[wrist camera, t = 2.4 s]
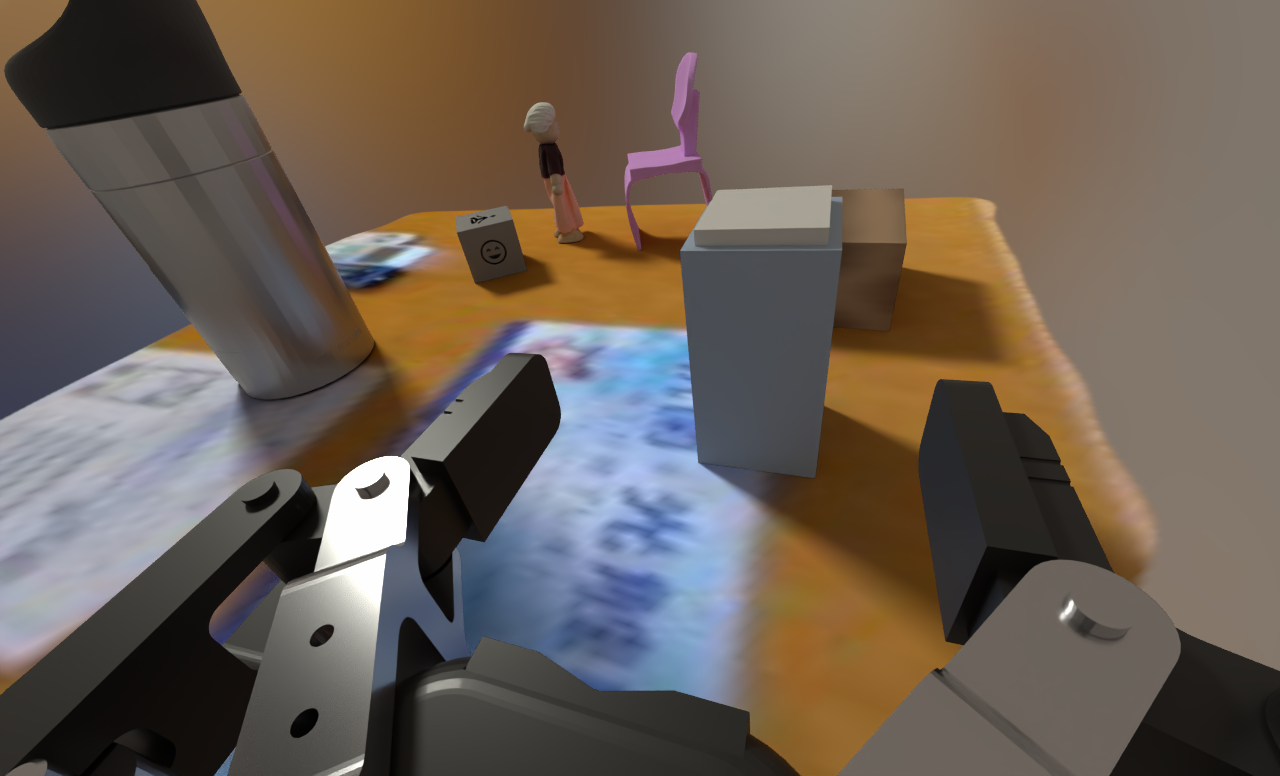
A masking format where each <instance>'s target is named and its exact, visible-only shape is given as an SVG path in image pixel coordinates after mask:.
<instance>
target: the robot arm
mask: <svg viewBox="0 0 1280 776" xmlns="http://www.w3.org/2000/svg"><path fill="white" fill-rule="evenodd" d="M4 72H5V77H6V79H7V82H8V84H9V85H10V87H11V89H12V90H13V91H14V93H15V94H16V96H17V97H18V99H19V100H20V101H21V103H22V104H23V105H24V106H25V108H26V109H27V110H28V111H29V113H30V114H31V115H32V117H33V118H34V119H35V121H36V122H37V123H38V124H39V126H40V127H42V128H48V129H46V130H44V132H45V133H46V135H47V136H48V137H49V139H50V140H51V141H52V142H53V144H54V145H55V146H56V148H57V149H58V150H59V151H60V153H61V154H62V155H63V156H64V158H65V159H66V160H67V162H68V163H69V165H70V166H71V167H72V168H73V170H74V171H75V172H76V174H77V175H78V176H79V177H80V179H81V180H82V181H83V183H84V184H85V185H86V187H88V189H89V190H91V192H92V194H93V195H94V196H95V198H96V199H97V200H98V201H99V203H100V204H101V205H102V207H103V208H104V209H105V211H106V212H107V213H108V214H109V216H110V217H111V218H112V220H113V221H114V222H115V223H116V225H117V226H118V227H119V229H120V230H121V231H122V233H123V234H124V235H125V237H126V238H127V239H128V240H129V242H130V243H131V244H132V245H133V247H134V248H135V249H136V251H137V252H138V253H139V255H140V256H141V257H142V258H143V260H144V261H145V262H146V264H147V265H148V266H149V269H150V270H151V272H152V273H153V274H154V275H155V277H156V278H157V279H158V281H159V282H160V283H161V284H162V286H163V287H164V288H165V289H166V291H167V292H168V294H169V295H170V296H171V297H172V299H173V300H174V301H175V303H176V304H177V305H178V306H179V308H180V309H181V310H182V312H183V313H184V314H185V315H186V317H187V318H188V319H189V321H190V322H191V323H192V325H193V326H194V327H195V328H196V330H197V331H198V332H199V334H200V335H201V336H202V337H203V339H204V340H205V341H206V343H207V344H208V345H209V347H210V348H211V349H212V350H213V352H214V353H215V354H216V356H217V357H218V358H219V359H220V361H221V362H222V363H223V365H224V366H225V367H226V368H227V370H228V371H229V372H230V374H231V375H232V376H233V378H234V379H235V380H236V381H238V383H239V384H240V385H241V387H242V388H243V389H244V390H245V392H246V393H247V394H248V395H249V396H251V397H253V398H258V399H279V398H285V397H291V396H294V395H298V394H302V393H305V392H308V391H311V390H314V389H316V388H319V387H321V386H324V385H326V384H328V383H330V382H332V381H334V380H336V379H338V378H340V377H341V376H343V375H345V374H347V373H348V372H350V371H351V370H352V369H354V368H355V367H357V366H358V365H359V364H360V363H361V362H362V361H364V360H365V359H366V357H367V356H368V355H369V354H370V352H371V351H372V349H373V346H374V339H373V337H372V336H371V334H370V332H369V330H368V328H367V326H366V324H365V322H364V320H363V319H362V317H361V315H360V313H359V311H358V309H357V307H356V305H355V303H354V301H353V300H352V298H351V296H350V293H349V291H348V290H347V288H346V286H345V284H344V282H343V280H342V278H341V276H340V275H339V273H338V271H337V269H336V267H335V265H334V263H333V261H332V260H331V258H330V256H329V254H328V252H327V250H326V248H325V246H324V245H323V243H322V241H321V239H320V237H319V235H318V233H317V231H316V230H315V228H314V226H313V224H312V222H311V220H310V218H309V216H308V214H307V213H306V211H305V209H304V207H303V205H302V203H301V201H300V199H299V198H298V196H297V194H296V192H295V190H294V188H293V186H292V184H291V182H290V181H289V179H288V177H287V175H286V173H285V171H284V169H283V167H282V166H281V164H280V162H279V160H278V158H277V156H276V154H275V152H274V151H273V149H271V148H272V147H271V145H270V143H269V142H268V140H267V138H266V136H265V134H264V132H263V130H262V128H261V127H260V125H259V123H258V121H257V119H256V117H255V115H254V114H253V112H252V110H251V108H250V106H249V104H248V102H247V100H246V98H245V97H244V96H243V95H239V94H240V93H241V89H240V87H239V86H238V84H237V82H236V80H235V78H234V76H233V75H232V73H231V71H230V69H229V67H228V65H227V63H226V61H225V58H224V56H223V54H222V52H221V50H220V48H219V46H218V43H217V41H216V39H215V37H214V35H213V33H212V31H211V29H210V26H209V24H208V22H207V20H206V19H205V16H204V14H203V13H202V11H201V9H200V7H199V5H198V3H197V1H196V0H69V3H68V5H67V7H66V8H65V10H64V12H63V14H62V16H61V17H60V18H59V19H58V20H57V22H56V23H55V24H54V25H53V26H52V27H51V28H50V29H49V30H48V31H47V32H46V33H44V34H43V35H42V36H41V37H39V38H38V39H36V40H35V41H34V42H32V43H31V44H29V45H28V46H26V47H25V48H24V49H22V50H20V51H19V52H18V53H16V54H15V55H14V56H12V57H11V58H10V59H9V60H8V62H7V63H6V65H5V70H4ZM560 419H561V410H560V405H559V401H558V398H557V395H556V391H555V388H554V385H553V381H552V378H551V375H550V371H549V368H548V364H547V362H546V360H545V358H544V357H543V356H542V355H540V354H523V353H509V354H507V355H506V356H505V357H504V358H503V359H502V360H501V361H500V362H499V363H498V364H497V365H496V366H495V367H494V368H493V369H492V371H491V372H489V373H487V374H486V375H484V376H482V377H481V378H479V379H478V380H476V381H474V382H473V383H471V384H470V385H469V386H468V387H467V388H466V389H465V390H464V391H463V392H462V393H461V394H460V395H459V396H458V397H457V398H456V402H452V403H451V404H450V405H449V406H448V407H447V409H446V410H445V411H444V414H441V415H440V416H439V417H438V418H437V419H436V420H435V421H434V422H433V423H432V424H431V425H430V426H429V427H428V428H427V429H426V430H425V431H424V432H423V434H422V435H421V436H420V437H419V438H418V439H417V440H416V441H415V442H414V443H413V444H412V445H411V446H410V447H409V448H408V449H407V450H406V451H405V452H404V453H403V454H402V455H401V456H400V457H382V458H378V459H375V460H372V461H369V462H367V463H365V464H363V465H361V466H359V467H357V468H356V469H354V470H353V471H351V472H350V473H349V474H348V475H346V476H345V477H344V478H343V479H342V480H341V481H340V483H339V484H336V485H328V486H320V487H312V488H311V487H310V486H309V485H308V483H307V482H306V481H305V479H304V478H303V477H302V475H301V474H300V473H299V472H298V471H296V470H293V469H281V470H276V471H272V472H269V473H266V474H264V475H261V476H259V477H257V478H255V479H253V480H252V481H250V482H248V483H247V484H245V485H244V486H242V487H241V488H240V489H238V490H237V491H236V492H235V493H233V494H232V495H231V496H230V497H229V498H228V499H227V500H225V501H224V502H223V503H222V504H221V505H220V506H218V507H217V508H216V509H215V510H214V511H213V512H212V513H210V514H209V515H208V516H207V517H206V518H205V519H203V520H202V521H201V522H200V523H199V524H198V525H196V526H195V527H194V528H193V529H192V530H191V531H190V532H188V533H187V534H186V535H185V536H184V537H183V538H181V539H180V540H179V541H178V542H177V543H176V544H175V545H173V546H172V547H171V548H170V549H169V550H168V551H166V552H165V553H164V554H163V555H162V556H161V557H160V558H158V559H157V560H156V561H155V562H154V563H153V564H151V565H150V566H149V567H148V568H147V569H146V570H144V571H143V572H142V573H141V574H140V575H139V576H138V577H136V578H135V579H134V580H133V581H132V582H131V583H129V584H128V585H127V586H126V587H125V588H124V589H123V590H121V591H120V592H119V593H118V594H117V595H116V596H114V597H113V598H112V599H111V600H110V601H109V602H107V603H106V604H105V605H104V606H103V607H102V608H101V609H99V610H98V611H97V612H96V613H95V614H94V615H92V616H91V617H90V618H89V619H88V620H87V621H86V622H84V623H83V624H82V625H81V626H80V627H79V628H77V629H76V630H75V631H74V632H73V633H72V634H71V635H69V636H68V637H67V638H66V639H65V640H64V641H62V642H61V643H60V644H59V645H58V646H57V647H55V648H54V649H53V650H52V651H51V652H50V653H49V654H47V655H46V656H45V657H44V658H43V659H42V660H40V661H39V662H38V663H37V664H36V665H35V666H34V667H32V668H31V669H30V670H29V671H28V672H27V673H25V674H24V675H23V676H22V677H21V678H20V679H18V680H17V681H16V682H15V683H14V684H13V685H12V686H10V687H9V688H8V689H7V690H6V691H5V692H3V693H2V694H1V695H0V776H214V775H215V773H216V772H217V771H218V769H219V768H220V767H221V765H222V764H223V763H224V762H225V760H226V759H227V758H228V756H229V755H230V754H231V752H232V751H233V750H234V748H235V747H236V749H235V752H234V755H233V759H232V762H231V766H230V769H229V772H228V776H800V775H799V774H798V773H797V772H796V770H795V769H794V768H793V767H792V766H791V765H790V764H789V763H788V762H787V761H786V760H785V759H784V758H782V757H781V756H780V755H779V754H777V753H776V752H775V751H774V750H773V749H771V748H770V747H769V746H768V745H766V744H765V743H763V742H762V741H760V740H759V739H757V738H755V737H754V736H752V735H751V734H750V714H749V712H748V711H744V710H740V709H737V708H733V707H730V706H726V705H723V704H719V703H716V702H712V701H709V700H705V699H702V698H698V697H695V696H691V695H688V694H684V693H681V692H677V691H599V690H596V689H593V688H591V687H590V686H588V685H587V684H585V683H584V682H582V681H581V680H579V679H578V678H576V677H575V676H573V675H572V674H571V673H569V672H568V671H566V670H565V669H563V668H562V667H560V666H559V665H557V664H556V663H554V662H553V661H552V660H550V659H549V658H547V657H546V656H544V655H543V654H541V653H540V652H537V651H533V650H530V649H526V648H523V647H519V646H516V645H512V644H509V643H505V642H502V641H498V640H495V639H491V638H487V637H484V636H483V637H482V639H481V641H480V643H479V645H478V646H477V648H476V650H475V652H474V653H473V655H472V656H471V654H470V651H469V649H468V646H467V643H466V639H465V633H464V620H463V600H462V579H461V559H460V553H459V551H458V549H457V548H456V547H457V545H458V544H459V542H460V541H461V540H462V538H467V539H472V540H476V541H481V542H485V541H486V539H487V538H488V536H489V535H490V533H491V531H492V530H493V528H494V527H495V525H496V524H497V522H498V521H499V519H500V518H501V516H502V515H503V513H504V512H505V510H506V509H507V507H508V506H509V504H510V503H511V501H512V499H513V498H514V496H515V495H516V493H517V492H518V490H519V489H520V487H521V486H522V484H523V483H524V481H525V480H526V478H527V477H528V475H529V474H530V472H531V470H532V469H533V467H534V466H535V464H536V463H537V461H538V460H539V458H540V457H541V455H542V454H543V452H544V451H545V449H546V448H547V446H548V445H549V443H550V441H551V440H552V438H553V437H554V435H555V434H556V432H557V430H558V428H559V424H560ZM1060 462H1061V460H1060V458H1059V456H1058V453H1057V451H1056V449H1055V447H1054V445H1053V443H1052V441H1051V438H1050V436H1049V435H1048V434H1047V433H1045V432H1044V431H1043V430H1042V429H1041V428H1040V427H1039V426H1038V425H1036V424H1035V423H1034V422H1033V421H1032V420H1031V419H1030V418H1029V417H1027V416H1026V415H1025V414H1019V413H1006V412H1002V410H1001V407H1000V404H999V402H998V399H997V396H996V394H995V391H994V389H993V386H992V385H991V383H989V382H978V381H961V380H944V379H940V380H939V381H938V382H937V384H936V387H935V390H934V394H933V398H932V401H931V405H930V409H929V413H928V417H927V421H926V425H925V428H924V432H923V436H922V440H921V444H920V451H919V478H920V485H921V491H922V497H923V503H924V510H925V516H926V522H927V529H928V535H929V541H930V547H931V554H932V560H933V566H934V572H935V579H936V585H937V591H938V597H939V604H940V610H941V616H942V623H943V629H944V635H945V641H946V642H951V643H956V644H960V645H964V646H963V647H962V648H961V649H960V650H959V652H958V653H957V654H956V655H955V656H954V657H953V658H952V660H951V661H950V662H949V663H948V664H947V665H946V666H945V667H944V668H942V669H941V670H939V669H938V668H937V669H934V670H933V671H932V672H930V673H929V674H928V675H927V676H926V677H925V678H924V679H923V680H922V681H921V682H920V683H919V684H918V685H917V686H916V687H915V688H914V690H913V691H912V692H911V693H910V694H909V695H908V696H907V697H906V699H905V700H904V701H903V702H902V703H901V704H900V705H899V706H898V708H897V709H896V710H895V711H894V712H893V713H892V714H891V715H890V717H889V718H888V719H887V720H886V721H885V722H884V723H883V724H882V726H881V727H880V728H879V729H878V730H877V731H876V732H875V733H874V735H873V736H872V737H871V738H870V739H869V740H868V741H867V742H866V744H865V745H864V746H863V747H862V748H861V749H860V750H859V751H858V753H857V754H856V755H855V756H854V757H853V758H852V759H851V760H850V762H849V763H848V764H847V765H846V766H845V767H844V768H843V769H842V770H841V772H840V773H839V774H838V775H837V776H1280V671H1278V670H1275V669H1273V668H1270V667H1268V666H1265V665H1263V664H1260V663H1257V662H1255V661H1253V660H1250V659H1247V658H1245V657H1242V656H1240V655H1237V654H1234V653H1232V652H1230V651H1227V650H1224V649H1222V648H1220V647H1217V646H1214V645H1212V644H1209V643H1207V642H1205V641H1202V640H1200V639H1198V638H1195V637H1193V636H1191V635H1189V634H1187V633H1185V632H1183V631H1181V630H1179V629H1177V628H1175V626H1174V624H1173V622H1172V621H1171V619H1170V618H1169V616H1168V615H1167V613H1166V612H1165V611H1164V610H1163V609H1162V608H1161V607H1160V606H1159V604H1158V603H1157V602H1156V601H1154V600H1153V599H1152V598H1151V597H1150V596H1149V595H1148V594H1147V593H1145V592H1144V591H1143V590H1141V589H1140V588H1139V587H1137V586H1136V585H1134V584H1133V583H1131V582H1129V581H1128V580H1126V579H1124V578H1123V577H1121V576H1119V575H1117V574H1115V573H1114V572H1113V570H1112V568H1111V566H1110V564H1109V562H1108V560H1107V558H1106V556H1105V553H1104V551H1103V549H1102V547H1101V545H1100V543H1099V541H1098V539H1097V536H1096V534H1095V532H1094V530H1093V528H1092V526H1091V524H1090V521H1089V519H1088V517H1087V515H1086V513H1085V511H1084V509H1083V507H1082V504H1081V502H1080V500H1079V498H1078V496H1077V494H1076V492H1075V490H1074V487H1071V486H1070V482H1071V481H1070V479H1069V477H1068V475H1067V473H1066V470H1065V468H1064V466H1063V465H1060ZM262 561H264V562H265V564H266V565H267V566H268V567H269V568H270V569H271V570H272V571H273V572H274V573H275V574H276V575H277V576H278V577H279V578H280V579H281V581H280V582H279V583H278V584H277V585H276V586H275V587H274V589H273V590H272V591H271V592H270V593H269V594H268V595H267V596H266V597H265V599H264V600H263V601H262V602H261V603H260V604H259V605H258V606H257V607H256V609H255V610H254V611H253V612H252V613H251V614H250V615H249V616H248V617H247V619H246V620H245V621H244V622H243V623H242V624H241V625H240V626H239V627H238V629H237V630H236V631H235V632H234V633H233V634H232V635H231V636H230V637H229V639H228V640H227V641H226V642H225V643H224V644H223V645H220V644H219V643H218V642H217V641H215V640H214V639H213V638H212V637H211V635H210V634H209V622H210V619H211V617H212V615H213V613H214V611H215V610H216V609H217V607H218V606H219V605H220V604H221V603H222V602H223V601H224V600H225V599H226V598H227V597H228V596H229V595H230V594H231V593H232V592H233V591H234V590H235V589H236V588H237V586H238V585H239V584H240V583H241V582H242V581H243V580H244V579H245V578H246V577H247V576H248V575H249V574H250V573H251V572H252V571H253V570H254V569H255V568H256V567H257V566H258V565H259V564H260V563H261V562H262Z"/></svg>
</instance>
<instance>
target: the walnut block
mask: <svg viewBox="0 0 1280 776" xmlns="http://www.w3.org/2000/svg"><path fill="white" fill-rule="evenodd" d="M831 197H842V255H841V264H840V272H839V281H838V289H837V298H836V306H835V315H834V323H833V327H840V328H854V329H867V330H881V331H889V330H890V325H891V320H892V315H893V310H894V305H895V300H896V295H897V290H898V285H899V280H900V274H901V269H902V264H903V259H904V254H905V249H906V244H907V240H906V222H905V204H904V189H870V190H868V189H866V190H865V189H864V190H832V194H831Z"/></svg>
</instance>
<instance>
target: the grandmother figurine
mask: <svg viewBox="0 0 1280 776" xmlns="http://www.w3.org/2000/svg"><path fill="white" fill-rule="evenodd" d="M554 118H555V111H554V107H552V105H550V104H549V103H537V104H535V105H534V106H533V107H532V108H531V109H530V110H529V111H528V114H527V117H526V120H525V124H524V129H525V131H527V132H530V131H531V132H533V135H534V137H535V139H536V140H537V141H538V142H539V143H540V145H539V159H540V160H539V161H540V162H539V165H540V170H541V175H542V178H543V179H544V183H545V187H546V190H547V193H548V196H549V198H550V200H551V202H552V204H553V205H554V219H555V225H556V228H557V229H556V230H555V232H554V236H555V237H558V242H559V243H569V242H577V241H580V240H582V239H583V234H582V233H581V232H580V231H579V229H578V228H579V227H581V226H582V225H583V224H584V222H583V219H582V216H581V212H580V209H579V206H578V204H577V201H576V198H575V196H574V194H573V191H572V188H571V186H570V184H569V182H568V180H567V178H566V176H565V172H564V169H563V159H562V155H561V153H560V151H559V149H558V146H557V145H556V143H555V141H556V140H557V139H558V136H559V126H558V124H557V122H556V120H555V119H554Z"/></svg>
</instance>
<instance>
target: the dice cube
mask: <svg viewBox="0 0 1280 776" xmlns="http://www.w3.org/2000/svg"><path fill="white" fill-rule="evenodd" d="M456 228H457V234H458V237H459V240H460V242H461V245H462V248H463V251H464V254H465V256H466V259H467V262H468V265H469V268H470V270H471V273H472V276H473V279H474V282H475V283H479V282H483V281H487V280H491V279H495V278H499V277H503V276H507V275H511V274H515V273H519V272H523V271H527V268H526V264H525V261H524V257H523V254H522V250H521V247H520V243H519V240H518V236H517V233H516V229H515V226H514V222H513V219H512V217H511V214H510V212H509V209H508V207H507V206H503V207H499V208H494V209H489V210H485V211H481V212H476V213H472V214H467V215H463V216H458V217H456Z"/></svg>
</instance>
